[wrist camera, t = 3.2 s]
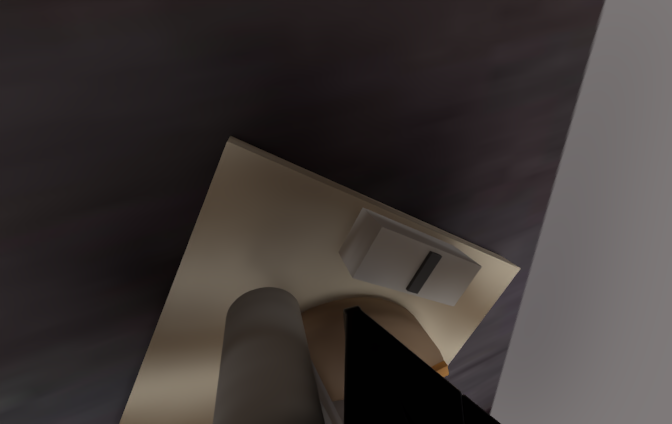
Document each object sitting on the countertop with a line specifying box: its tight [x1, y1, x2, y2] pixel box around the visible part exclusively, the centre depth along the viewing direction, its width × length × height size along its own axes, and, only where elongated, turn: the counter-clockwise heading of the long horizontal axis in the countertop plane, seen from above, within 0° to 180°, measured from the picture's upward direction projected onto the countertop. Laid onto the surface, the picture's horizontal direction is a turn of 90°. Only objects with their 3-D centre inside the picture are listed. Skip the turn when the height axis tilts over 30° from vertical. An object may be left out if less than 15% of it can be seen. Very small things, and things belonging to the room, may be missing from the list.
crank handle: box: [213, 287, 449, 424], centre depth 11 cm, size 11×16×7 cm
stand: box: [119, 136, 521, 424], centre depth 15 cm, size 18×18×4 cm
